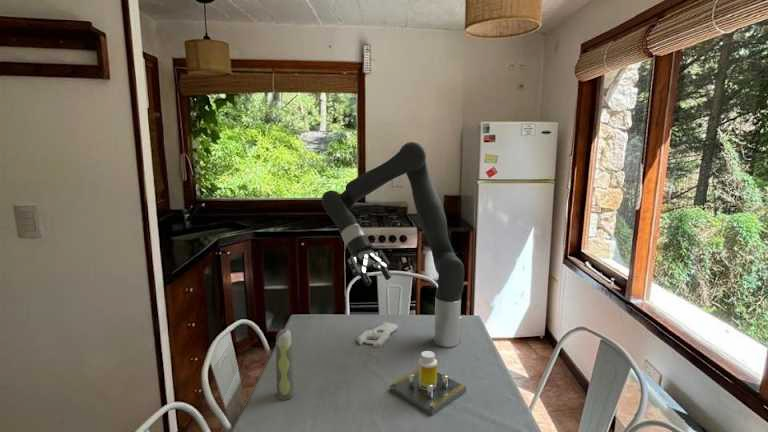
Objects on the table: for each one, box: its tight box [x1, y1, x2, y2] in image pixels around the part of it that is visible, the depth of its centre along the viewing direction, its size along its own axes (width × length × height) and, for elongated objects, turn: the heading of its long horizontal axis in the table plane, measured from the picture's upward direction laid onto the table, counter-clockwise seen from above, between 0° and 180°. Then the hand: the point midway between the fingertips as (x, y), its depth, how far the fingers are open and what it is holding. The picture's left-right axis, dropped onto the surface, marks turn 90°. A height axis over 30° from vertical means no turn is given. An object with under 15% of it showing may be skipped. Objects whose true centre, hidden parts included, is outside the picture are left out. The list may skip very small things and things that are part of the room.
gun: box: [356, 321, 399, 348], centre depth 156 cm, size 18×4×10 cm
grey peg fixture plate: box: [389, 368, 467, 416], centre depth 121 cm, size 16×16×5 cm
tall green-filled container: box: [275, 328, 295, 401], centre depth 117 cm, size 5×5×20 cm
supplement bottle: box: [417, 350, 438, 391], centre depth 121 cm, size 6×6×10 cm
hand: (379, 281), depth 132 cm, fingers open, 8 cm apart
